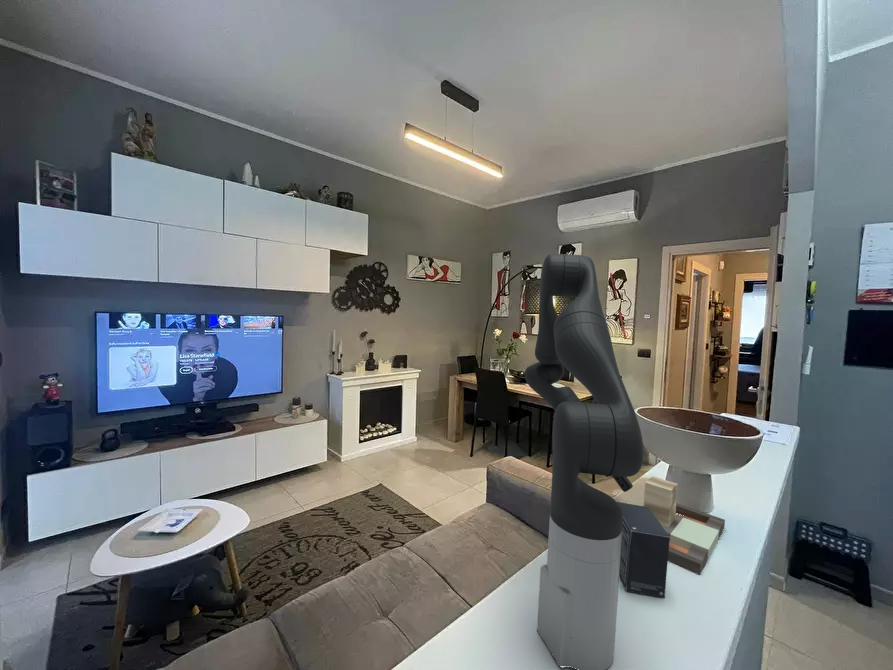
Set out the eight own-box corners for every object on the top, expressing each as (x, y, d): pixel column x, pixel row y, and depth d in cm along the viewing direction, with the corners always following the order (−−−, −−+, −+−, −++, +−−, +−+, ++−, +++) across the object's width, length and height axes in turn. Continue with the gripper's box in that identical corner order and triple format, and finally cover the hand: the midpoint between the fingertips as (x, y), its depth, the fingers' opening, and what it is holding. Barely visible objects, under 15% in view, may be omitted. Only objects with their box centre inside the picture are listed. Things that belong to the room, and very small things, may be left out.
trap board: (699, 575, 66) (700, 564, 66) (624, 541, 75) (624, 531, 75) (724, 528, 82) (725, 519, 82) (659, 505, 91) (660, 497, 91)
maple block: (668, 527, 78) (671, 490, 77) (642, 517, 81) (645, 482, 81) (675, 519, 81) (677, 483, 81) (650, 510, 85) (652, 476, 84)
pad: (707, 559, 70) (708, 549, 70) (669, 543, 75) (670, 534, 75) (718, 539, 77) (719, 530, 77) (682, 526, 82) (683, 517, 82)
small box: (668, 600, 60) (672, 537, 59) (625, 592, 61) (629, 530, 60) (646, 559, 70) (650, 505, 69) (610, 553, 71) (613, 500, 71)
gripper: (580, 421, 87) (631, 490, 79) (603, 413, 96) (651, 474, 88) (558, 437, 91) (605, 505, 83) (582, 428, 100) (627, 488, 92)
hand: (628, 489), depth 86 cm, fingers closed
